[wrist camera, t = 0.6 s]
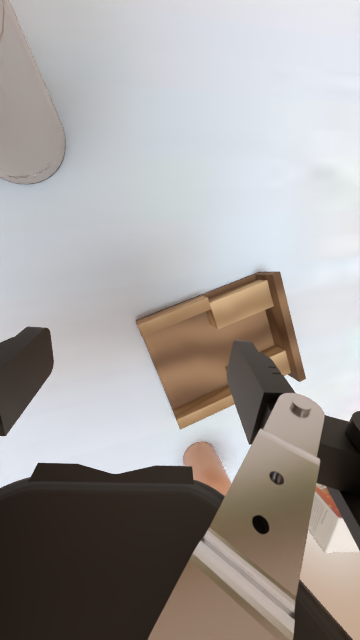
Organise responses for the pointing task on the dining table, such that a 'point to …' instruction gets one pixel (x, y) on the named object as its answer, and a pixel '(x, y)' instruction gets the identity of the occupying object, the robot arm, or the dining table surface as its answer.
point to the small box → (329, 524)
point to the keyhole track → (219, 342)
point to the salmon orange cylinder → (207, 466)
